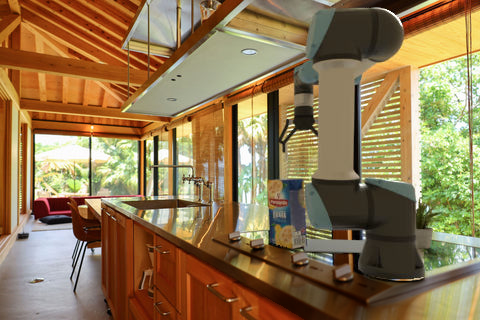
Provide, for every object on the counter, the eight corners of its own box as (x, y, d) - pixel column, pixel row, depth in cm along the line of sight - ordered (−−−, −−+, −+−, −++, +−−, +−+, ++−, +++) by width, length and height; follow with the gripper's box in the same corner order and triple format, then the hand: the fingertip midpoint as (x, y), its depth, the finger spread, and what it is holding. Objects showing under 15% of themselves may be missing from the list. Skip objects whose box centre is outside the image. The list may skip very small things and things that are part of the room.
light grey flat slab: (378, 254, 102) (378, 252, 102) (304, 252, 105) (304, 250, 105) (364, 241, 120) (364, 240, 120) (301, 240, 122) (301, 238, 122)
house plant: (417, 253, 103) (417, 200, 103) (386, 243, 116) (386, 196, 117) (455, 250, 107) (454, 198, 107) (420, 241, 120) (420, 195, 121)
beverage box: (284, 240, 121) (281, 179, 121) (307, 245, 112) (303, 178, 112) (270, 243, 117) (267, 180, 118) (292, 248, 108) (288, 179, 108)
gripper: (335, 107, 133) (336, 161, 132) (272, 109, 137) (272, 161, 136) (338, 103, 126) (338, 160, 125) (271, 105, 130) (271, 160, 129)
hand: (304, 161), depth 130 cm, fingers open, 13 cm apart
